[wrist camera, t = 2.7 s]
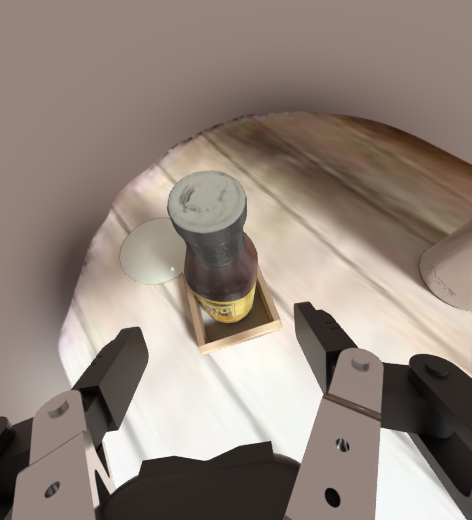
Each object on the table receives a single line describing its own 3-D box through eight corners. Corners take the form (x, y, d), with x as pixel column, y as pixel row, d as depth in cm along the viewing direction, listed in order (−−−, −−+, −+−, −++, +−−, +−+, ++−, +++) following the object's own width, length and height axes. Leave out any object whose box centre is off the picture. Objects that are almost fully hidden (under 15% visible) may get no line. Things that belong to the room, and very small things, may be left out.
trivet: (186, 212, 36) (186, 210, 35) (202, 271, 31) (201, 269, 30) (119, 231, 35) (117, 229, 34) (124, 295, 30) (122, 293, 29)
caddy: (251, 258, 31) (251, 247, 29) (279, 329, 27) (282, 325, 24) (187, 277, 31) (181, 268, 28) (205, 355, 26) (200, 353, 23)
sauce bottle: (196, 302, 29) (109, 196, 11) (229, 270, 31) (200, 135, 13) (231, 338, 27) (193, 277, 9) (265, 301, 28) (289, 189, 11)
